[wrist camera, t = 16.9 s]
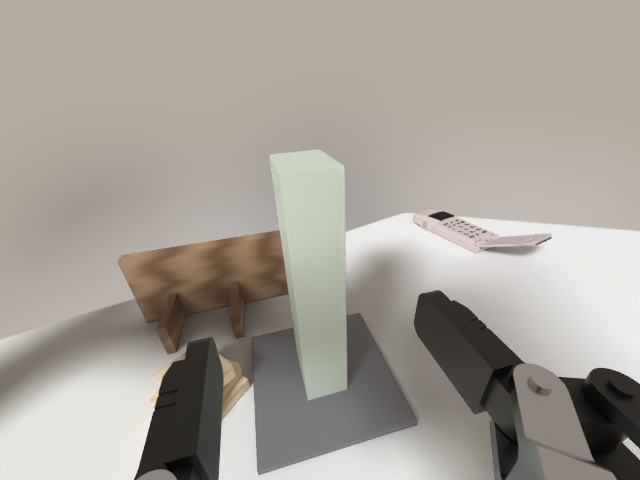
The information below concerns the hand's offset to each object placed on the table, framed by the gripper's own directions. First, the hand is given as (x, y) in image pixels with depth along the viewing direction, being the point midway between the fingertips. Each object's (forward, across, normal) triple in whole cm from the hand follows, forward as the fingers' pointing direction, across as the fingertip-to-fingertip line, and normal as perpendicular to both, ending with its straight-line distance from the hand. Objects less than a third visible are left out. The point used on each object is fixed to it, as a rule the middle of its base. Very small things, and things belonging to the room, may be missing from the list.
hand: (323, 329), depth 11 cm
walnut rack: (+23, +8, +19) cm, 31 cm away
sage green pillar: (+11, -2, +18) cm, 22 cm away
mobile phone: (+31, -35, +19) cm, 51 cm away
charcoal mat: (+11, -2, +19) cm, 22 cm away
